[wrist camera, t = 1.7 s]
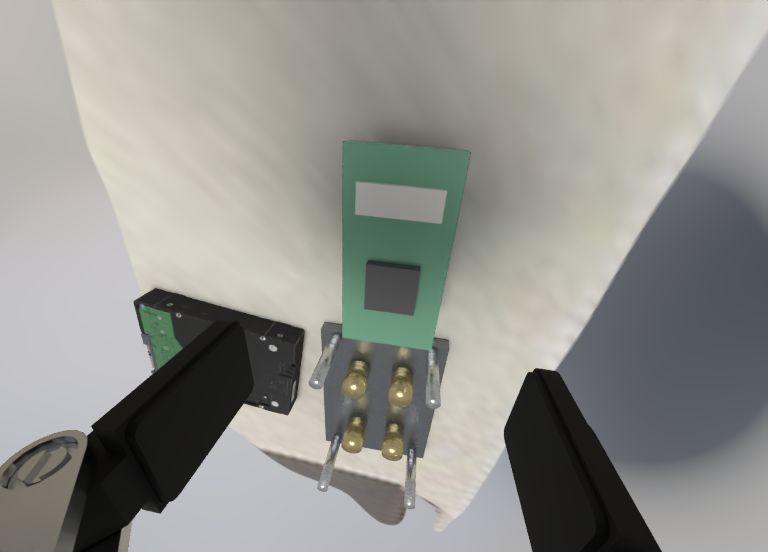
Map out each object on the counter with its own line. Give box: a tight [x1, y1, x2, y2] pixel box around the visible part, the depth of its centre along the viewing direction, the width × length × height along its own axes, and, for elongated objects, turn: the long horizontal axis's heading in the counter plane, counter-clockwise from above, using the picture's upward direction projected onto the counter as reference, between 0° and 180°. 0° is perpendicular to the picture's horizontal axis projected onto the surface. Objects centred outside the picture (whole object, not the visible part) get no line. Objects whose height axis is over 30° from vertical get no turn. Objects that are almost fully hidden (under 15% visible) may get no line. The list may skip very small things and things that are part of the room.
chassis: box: [309, 322, 449, 509], centre depth 26 cm, size 16×11×6 cm
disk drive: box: [134, 288, 305, 415], centre depth 27 cm, size 10×3×15 cm
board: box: [342, 140, 471, 351], centre depth 16 cm, size 12×6×3 cm, turn 176°
